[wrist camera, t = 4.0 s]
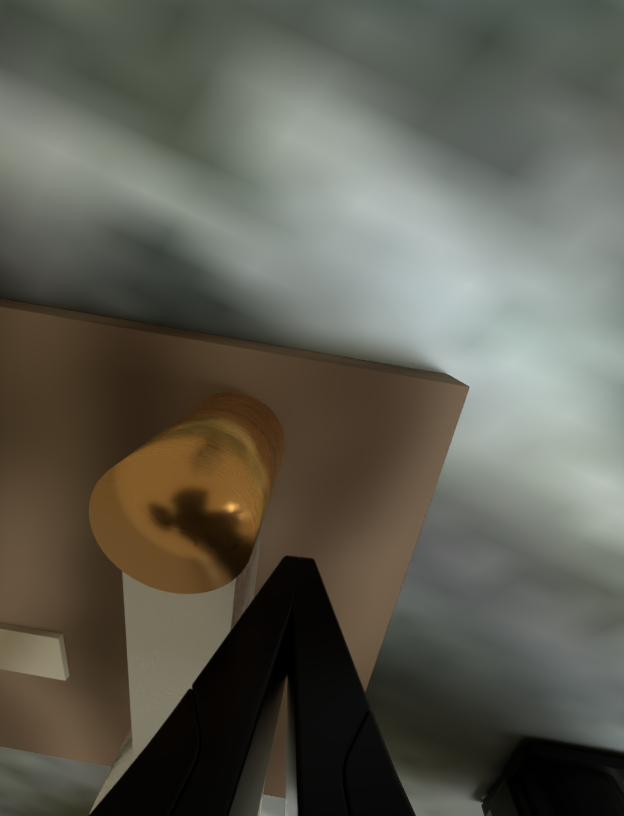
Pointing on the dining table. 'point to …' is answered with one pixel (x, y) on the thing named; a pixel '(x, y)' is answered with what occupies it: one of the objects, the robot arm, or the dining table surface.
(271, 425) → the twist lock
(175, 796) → the robot arm
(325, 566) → the lock base
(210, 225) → the dining table surface
